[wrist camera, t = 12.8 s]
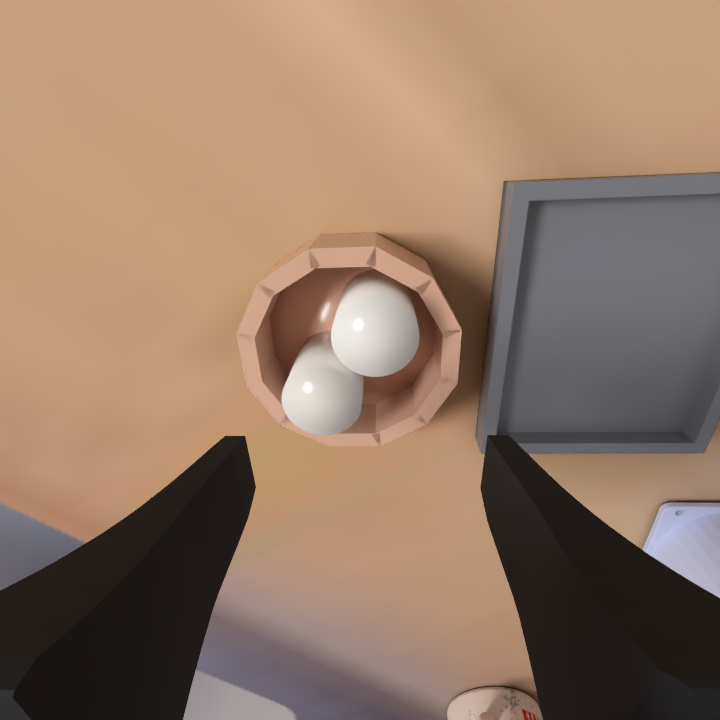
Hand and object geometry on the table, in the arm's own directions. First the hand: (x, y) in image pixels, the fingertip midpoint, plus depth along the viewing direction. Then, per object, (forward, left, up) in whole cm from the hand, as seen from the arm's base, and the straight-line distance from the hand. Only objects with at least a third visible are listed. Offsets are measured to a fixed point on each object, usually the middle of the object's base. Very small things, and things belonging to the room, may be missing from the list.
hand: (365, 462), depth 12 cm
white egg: (0, -2, -10) cm, 10 cm away
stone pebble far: (+2, +2, -10) cm, 10 cm away
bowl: (+1, 0, -10) cm, 10 cm away
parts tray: (-12, 0, -10) cm, 16 cm away
